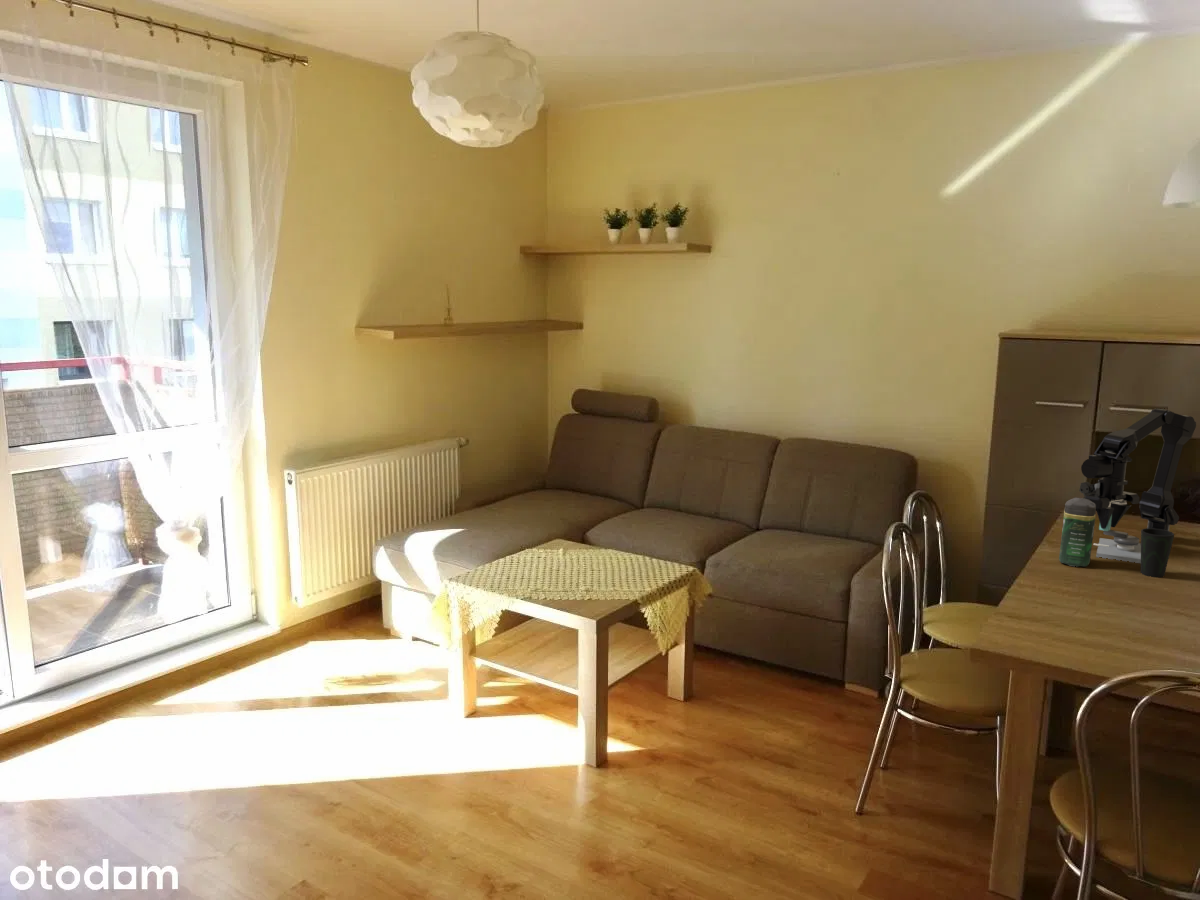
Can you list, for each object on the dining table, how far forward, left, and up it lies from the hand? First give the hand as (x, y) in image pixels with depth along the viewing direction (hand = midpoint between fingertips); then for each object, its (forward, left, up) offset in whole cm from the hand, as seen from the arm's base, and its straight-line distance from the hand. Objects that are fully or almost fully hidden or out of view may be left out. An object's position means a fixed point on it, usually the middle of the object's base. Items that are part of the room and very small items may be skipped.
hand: (1108, 527), depth 263 cm
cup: (+20, +12, -7) cm, 24 cm away
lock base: (+2, +5, -7) cm, 8 cm away
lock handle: (+2, +3, -3) cm, 5 cm away
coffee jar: (+20, -7, -7) cm, 22 cm away
